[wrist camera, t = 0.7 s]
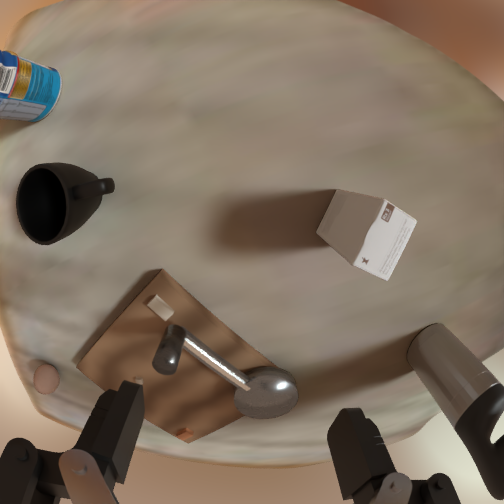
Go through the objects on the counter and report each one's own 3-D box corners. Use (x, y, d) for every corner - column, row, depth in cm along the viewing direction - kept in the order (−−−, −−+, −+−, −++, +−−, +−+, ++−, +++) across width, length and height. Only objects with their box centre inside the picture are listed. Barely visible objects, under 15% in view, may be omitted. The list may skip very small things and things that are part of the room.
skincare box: (343, 246, 33) (389, 287, 21) (312, 231, 32) (349, 268, 21) (365, 201, 31) (422, 223, 20) (334, 185, 30) (384, 198, 19)
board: (291, 377, 39) (294, 390, 36) (189, 435, 44) (187, 447, 41) (162, 268, 33) (155, 277, 30) (80, 360, 37) (73, 370, 35)
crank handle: (307, 386, 37) (319, 428, 29) (262, 414, 38) (266, 454, 31) (195, 294, 32) (181, 335, 24) (150, 335, 33) (131, 377, 25)
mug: (143, 216, 31) (108, 236, 22) (67, 228, 31) (23, 249, 22) (135, 148, 28) (96, 143, 19) (58, 169, 28) (11, 175, 19)
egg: (56, 358, 37) (39, 381, 31) (68, 379, 39) (54, 402, 33) (39, 357, 38) (23, 378, 31) (52, 378, 39) (37, 399, 33)
